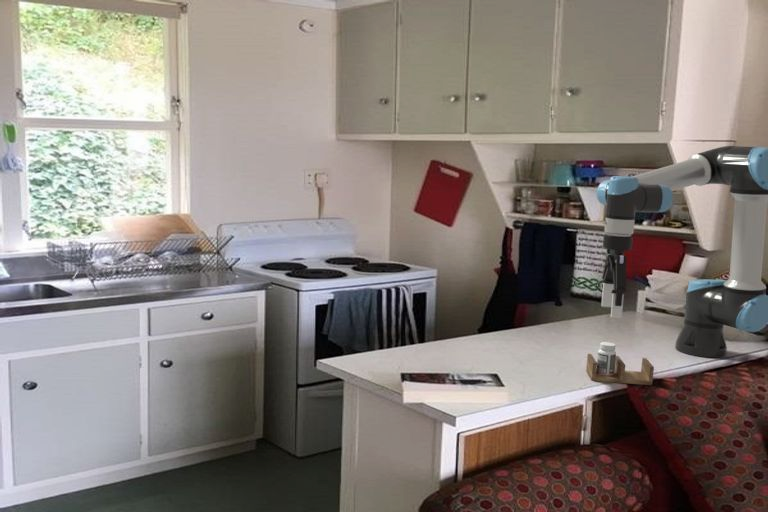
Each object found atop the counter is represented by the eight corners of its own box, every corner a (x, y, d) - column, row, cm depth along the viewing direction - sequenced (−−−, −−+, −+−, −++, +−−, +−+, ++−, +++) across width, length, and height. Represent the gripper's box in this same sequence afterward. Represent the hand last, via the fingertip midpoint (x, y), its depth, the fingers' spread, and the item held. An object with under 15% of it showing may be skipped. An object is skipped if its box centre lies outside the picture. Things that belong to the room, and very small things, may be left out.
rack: (644, 375, 226) (646, 358, 225) (652, 385, 217) (654, 367, 216) (586, 371, 227) (587, 353, 226) (591, 380, 218) (593, 362, 217)
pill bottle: (610, 371, 225) (613, 341, 223) (616, 376, 220) (619, 346, 219) (593, 370, 224) (596, 341, 223) (599, 375, 220) (602, 345, 218)
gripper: (596, 228, 229) (589, 301, 232) (613, 239, 204) (605, 321, 207) (623, 229, 228) (616, 303, 231) (643, 241, 204) (635, 323, 207)
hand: (611, 312), depth 219 cm, fingers open, 13 cm apart
